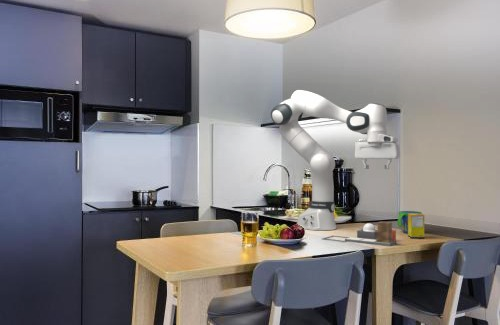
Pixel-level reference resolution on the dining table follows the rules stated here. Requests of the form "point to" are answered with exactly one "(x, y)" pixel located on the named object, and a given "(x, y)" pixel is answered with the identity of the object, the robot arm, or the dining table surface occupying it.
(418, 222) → the supplement box
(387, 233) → the brown wooden block
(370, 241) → the game track
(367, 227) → the dome button
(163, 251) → the dining table surface
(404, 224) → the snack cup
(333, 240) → the pad
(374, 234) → the dome housing
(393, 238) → the red die
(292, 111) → the robot arm
